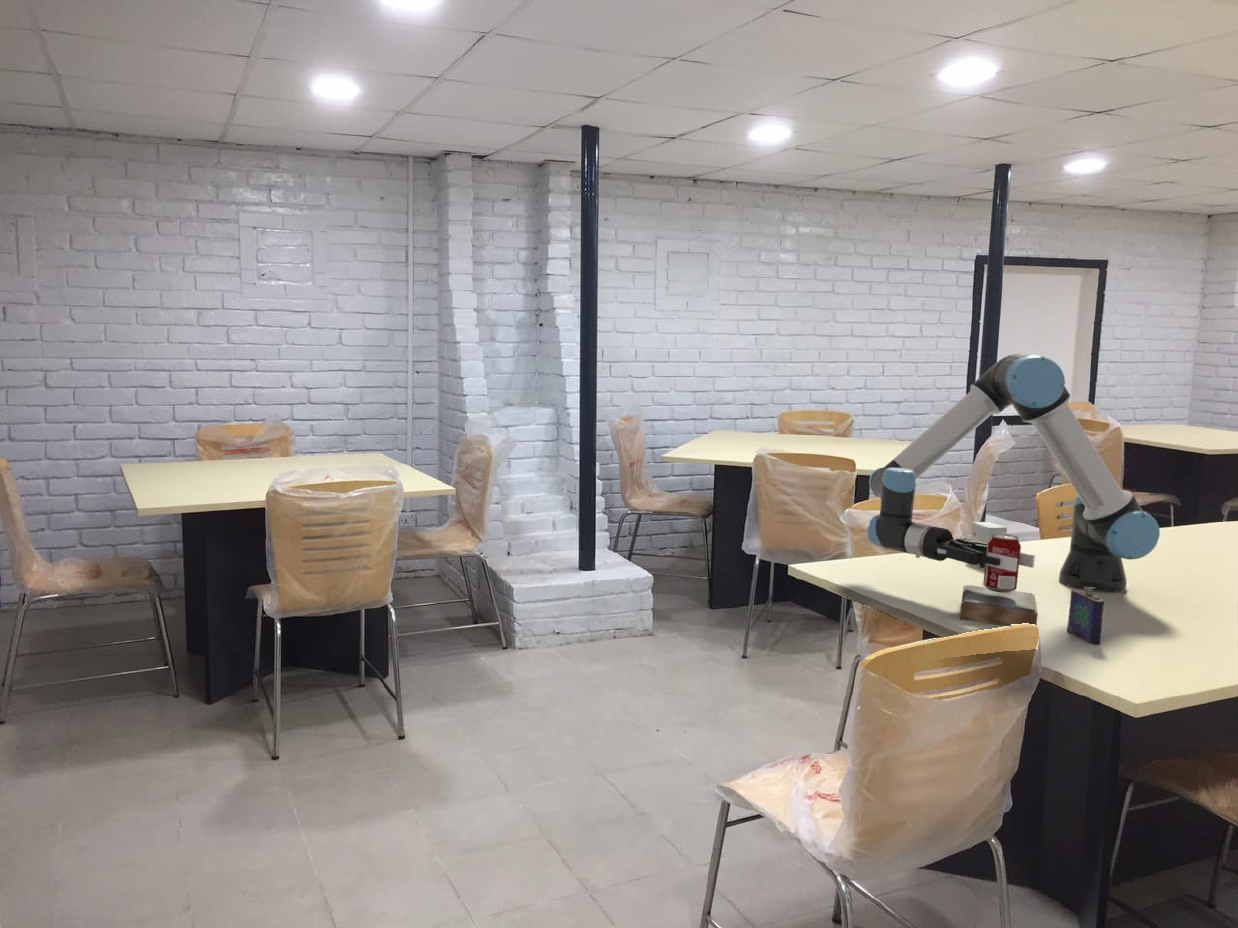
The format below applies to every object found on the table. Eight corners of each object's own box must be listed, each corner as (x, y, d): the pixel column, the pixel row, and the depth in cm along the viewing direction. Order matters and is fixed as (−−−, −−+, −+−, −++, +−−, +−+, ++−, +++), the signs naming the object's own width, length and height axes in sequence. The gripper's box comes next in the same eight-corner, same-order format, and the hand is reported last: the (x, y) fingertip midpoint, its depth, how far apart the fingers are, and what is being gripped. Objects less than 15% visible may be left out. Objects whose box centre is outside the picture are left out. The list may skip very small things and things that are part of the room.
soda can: (1018, 595, 207) (1024, 540, 206) (985, 592, 208) (991, 537, 207) (1012, 587, 214) (1018, 534, 212) (980, 584, 215) (985, 531, 213)
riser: (1032, 610, 217) (1034, 592, 216) (1035, 629, 202) (1037, 610, 201) (961, 601, 222) (963, 584, 221) (959, 619, 207) (961, 601, 206)
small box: (1004, 565, 260) (1007, 527, 258) (985, 566, 258) (989, 527, 257) (985, 558, 267) (989, 521, 266) (968, 559, 266) (971, 521, 264)
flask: (1064, 630, 202) (1069, 580, 201) (1077, 630, 202) (1082, 580, 201) (1091, 645, 193) (1097, 592, 192) (1104, 645, 193) (1111, 592, 192)
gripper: (951, 553, 230) (1045, 574, 213) (903, 562, 218) (998, 586, 201) (954, 522, 229) (1049, 541, 212) (906, 530, 217) (1002, 550, 200)
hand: (1024, 563), depth 206 cm, fingers closed on soda can, 6 cm apart
